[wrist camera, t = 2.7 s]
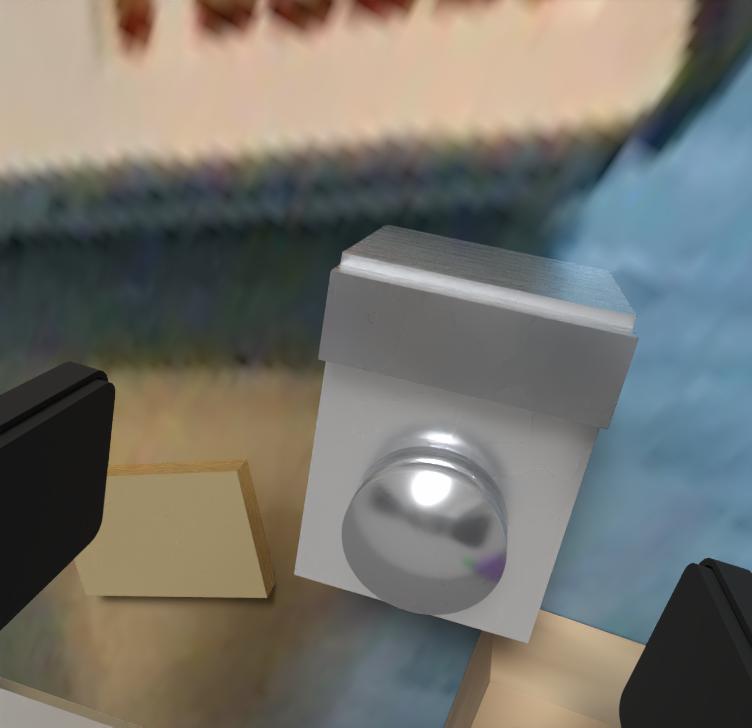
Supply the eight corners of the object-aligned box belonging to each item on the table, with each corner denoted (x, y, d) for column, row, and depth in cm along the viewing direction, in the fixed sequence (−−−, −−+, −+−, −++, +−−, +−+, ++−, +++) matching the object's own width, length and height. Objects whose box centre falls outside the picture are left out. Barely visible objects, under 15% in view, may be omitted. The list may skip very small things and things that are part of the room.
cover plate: (254, 450, 18) (236, 471, 17) (281, 571, 19) (267, 598, 18) (74, 459, 20) (46, 478, 18) (109, 571, 21) (86, 595, 20)
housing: (388, 223, 15) (325, 262, 10) (607, 269, 14) (647, 333, 10) (343, 481, 17) (277, 606, 13) (527, 531, 17) (527, 682, 12)
